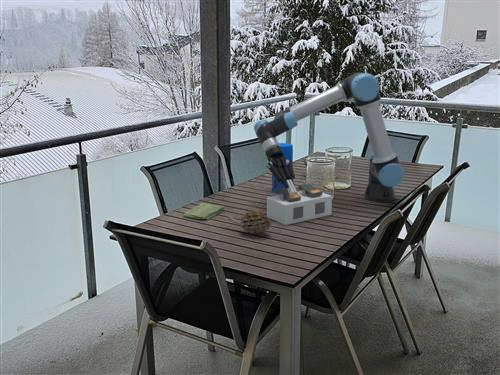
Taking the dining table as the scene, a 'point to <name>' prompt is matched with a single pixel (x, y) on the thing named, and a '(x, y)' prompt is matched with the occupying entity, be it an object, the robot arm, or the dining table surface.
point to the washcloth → (204, 211)
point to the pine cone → (253, 222)
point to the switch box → (298, 208)
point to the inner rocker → (310, 190)
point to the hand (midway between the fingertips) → (293, 193)
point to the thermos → (288, 155)
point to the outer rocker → (288, 195)
